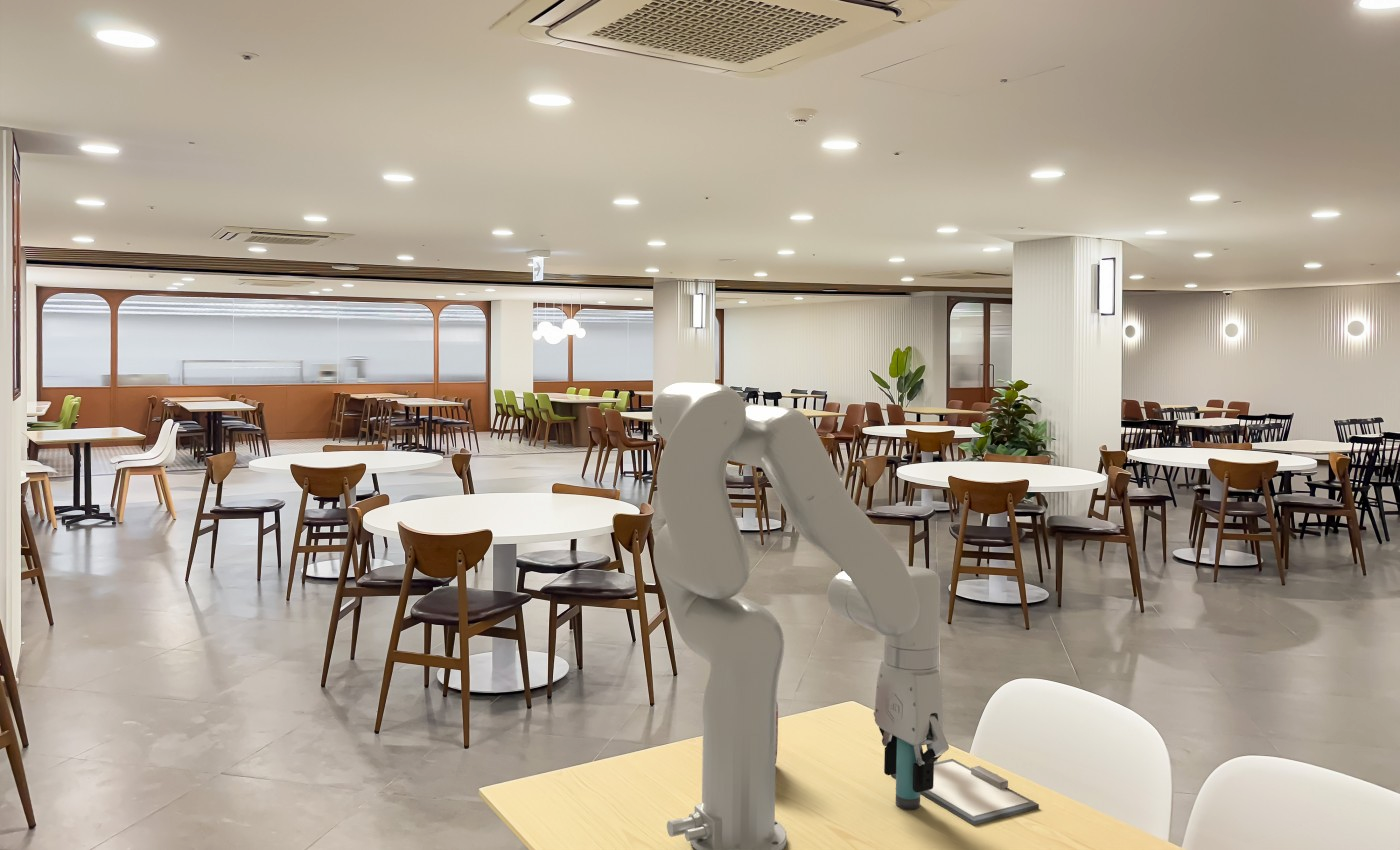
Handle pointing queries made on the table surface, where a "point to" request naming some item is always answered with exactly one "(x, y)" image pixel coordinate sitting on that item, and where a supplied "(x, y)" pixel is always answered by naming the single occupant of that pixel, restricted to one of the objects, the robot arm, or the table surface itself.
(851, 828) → the table surface
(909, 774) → the marker
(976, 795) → the clipboard
